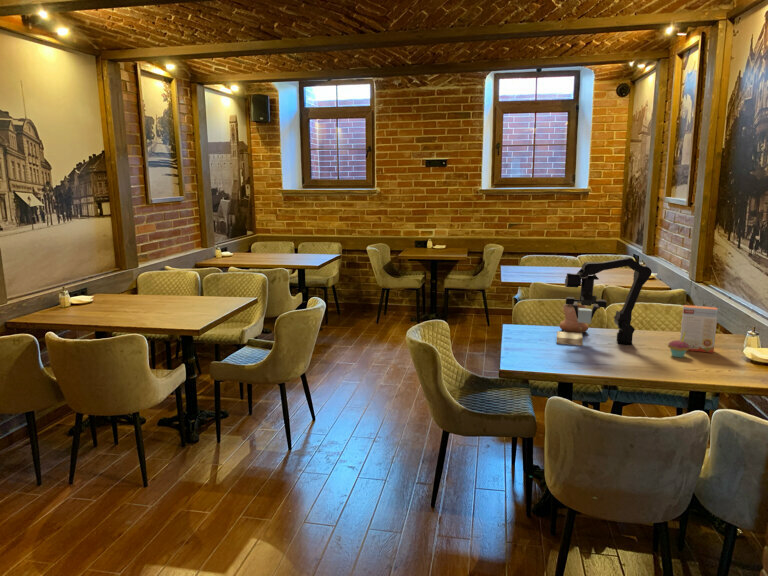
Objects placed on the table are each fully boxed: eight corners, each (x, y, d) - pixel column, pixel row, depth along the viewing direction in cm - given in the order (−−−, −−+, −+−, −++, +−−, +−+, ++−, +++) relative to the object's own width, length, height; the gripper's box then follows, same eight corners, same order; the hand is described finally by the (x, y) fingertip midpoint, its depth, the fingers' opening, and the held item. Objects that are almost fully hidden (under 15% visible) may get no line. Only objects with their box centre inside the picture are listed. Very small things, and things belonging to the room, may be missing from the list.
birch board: (581, 338, 281) (582, 333, 281) (582, 345, 270) (582, 339, 270) (556, 336, 285) (557, 331, 284) (556, 343, 274) (556, 337, 273)
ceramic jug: (593, 335, 287) (595, 308, 285) (566, 336, 286) (568, 308, 284) (579, 327, 305) (581, 302, 303) (553, 327, 304) (555, 302, 302)
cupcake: (686, 354, 257) (689, 329, 254) (689, 359, 249) (692, 333, 247) (665, 352, 260) (668, 327, 257) (668, 357, 252) (671, 332, 249)
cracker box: (712, 350, 263) (717, 306, 259) (713, 353, 258) (718, 309, 254) (678, 346, 269) (683, 304, 265) (679, 349, 264) (684, 306, 260)
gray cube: (590, 320, 277) (591, 308, 276) (590, 323, 271) (591, 311, 270) (577, 319, 279) (578, 307, 277) (577, 322, 273) (578, 310, 272)
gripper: (567, 289, 267) (564, 320, 270) (608, 292, 261) (605, 324, 264) (567, 285, 277) (564, 315, 280) (607, 288, 272) (603, 319, 275)
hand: (584, 319), depth 275 cm, fingers closed on gray cube, 6 cm apart
